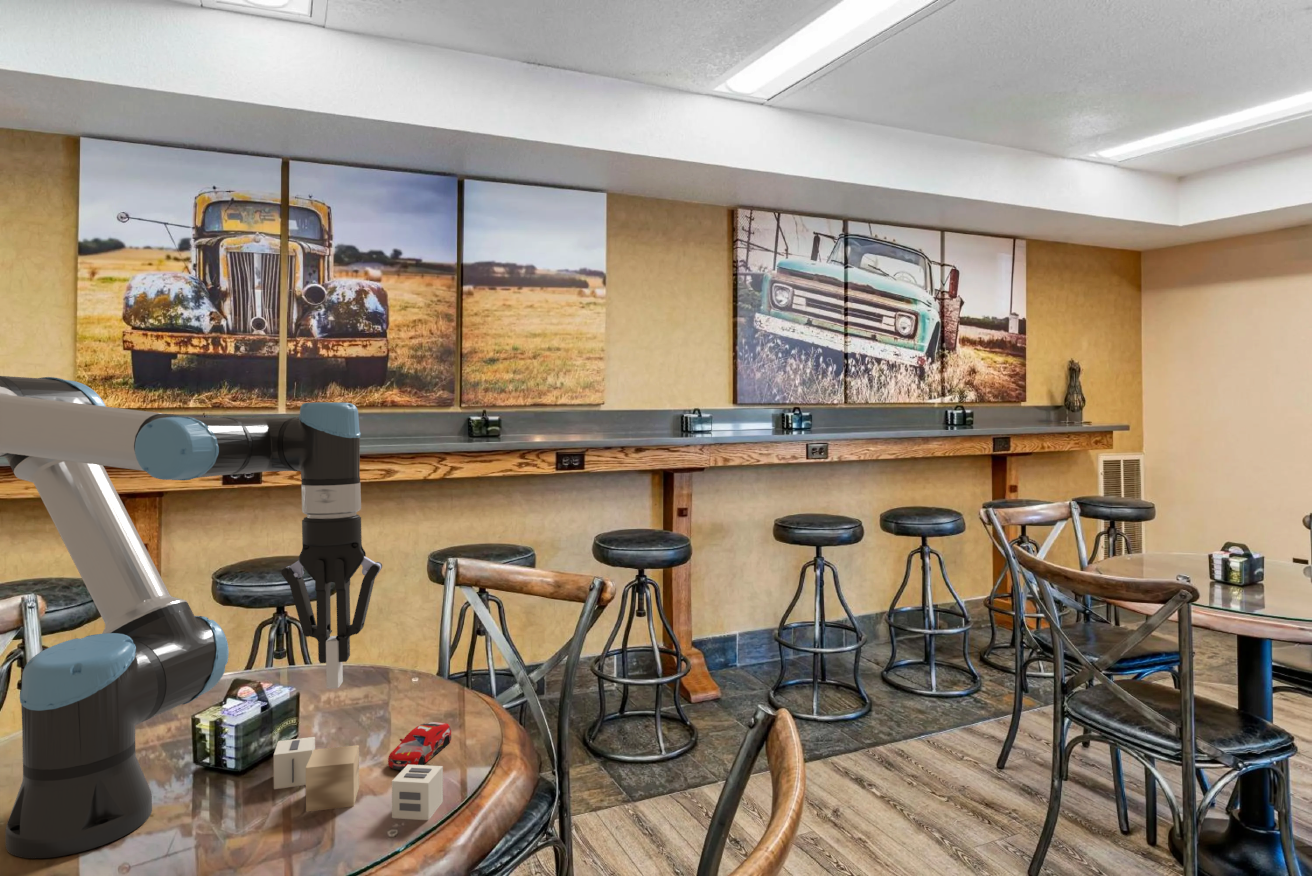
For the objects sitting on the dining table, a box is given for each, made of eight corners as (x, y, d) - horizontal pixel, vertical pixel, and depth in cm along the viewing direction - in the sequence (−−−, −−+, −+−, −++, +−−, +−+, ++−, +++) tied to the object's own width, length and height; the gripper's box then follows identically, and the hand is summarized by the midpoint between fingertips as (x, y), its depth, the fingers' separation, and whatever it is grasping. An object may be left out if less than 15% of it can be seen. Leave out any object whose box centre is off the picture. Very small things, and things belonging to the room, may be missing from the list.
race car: (413, 777, 115) (413, 750, 115) (381, 772, 116) (380, 746, 116) (457, 740, 128) (457, 716, 128) (428, 737, 129) (427, 713, 129)
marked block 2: (391, 819, 102) (391, 780, 102) (408, 800, 107) (407, 763, 107) (428, 821, 102) (428, 782, 102) (442, 802, 107) (442, 765, 107)
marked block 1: (273, 791, 110) (273, 755, 110) (278, 774, 115) (278, 740, 115) (311, 786, 111) (311, 750, 111) (315, 769, 117) (315, 735, 117)
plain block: (306, 812, 104) (305, 767, 104) (314, 791, 110) (313, 749, 110) (353, 807, 106) (353, 763, 105) (359, 786, 111) (359, 745, 111)
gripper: (272, 519, 102) (275, 697, 103) (376, 516, 104) (378, 691, 105) (289, 512, 109) (293, 679, 110) (386, 510, 112) (388, 673, 112)
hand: (334, 685), depth 107 cm, fingers closed
